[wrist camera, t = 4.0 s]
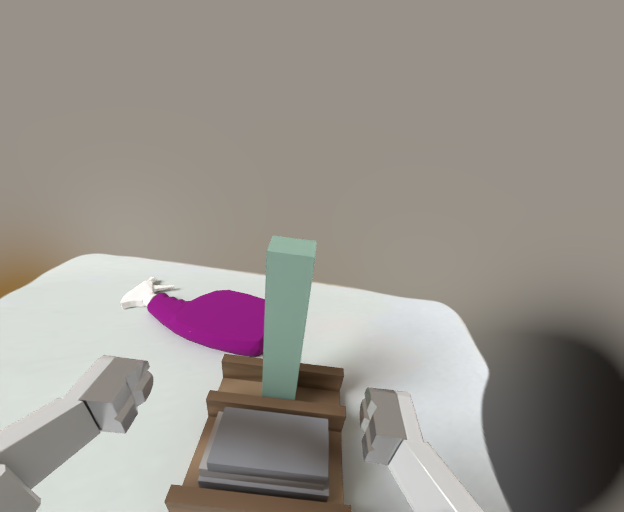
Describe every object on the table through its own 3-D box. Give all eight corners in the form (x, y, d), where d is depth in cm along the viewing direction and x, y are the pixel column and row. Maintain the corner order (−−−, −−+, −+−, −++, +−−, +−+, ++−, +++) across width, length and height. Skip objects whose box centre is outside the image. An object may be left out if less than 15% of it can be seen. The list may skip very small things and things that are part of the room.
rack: (341, 541, 22) (351, 522, 20) (173, 522, 22) (164, 501, 20) (337, 389, 34) (343, 366, 32) (227, 375, 34) (225, 352, 31)
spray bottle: (257, 366, 36) (104, 320, 40) (284, 313, 45) (158, 280, 49) (256, 351, 34) (98, 305, 38) (285, 299, 43) (155, 266, 48)
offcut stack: (326, 502, 23) (334, 480, 21) (199, 488, 23) (193, 464, 21) (326, 439, 27) (333, 415, 25) (220, 426, 27) (217, 401, 25)
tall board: (293, 411, 29) (315, 257, 19) (261, 407, 29) (266, 250, 19) (295, 390, 31) (316, 241, 21) (266, 386, 31) (272, 235, 21)
